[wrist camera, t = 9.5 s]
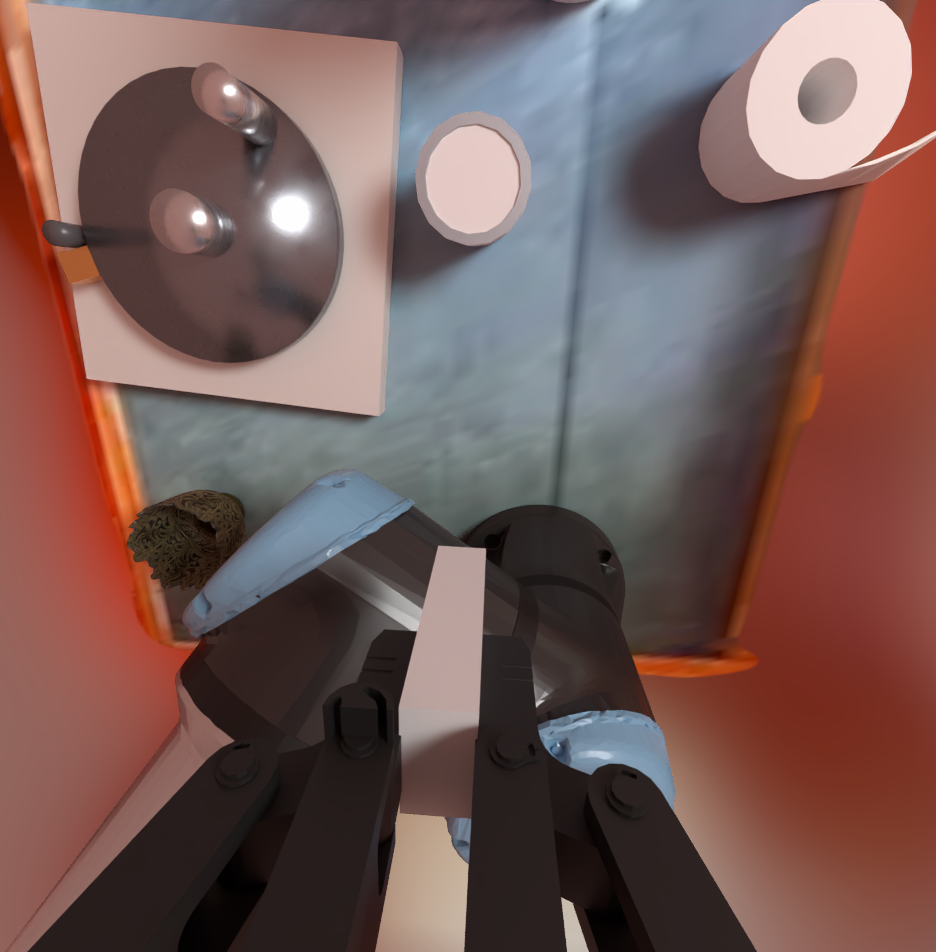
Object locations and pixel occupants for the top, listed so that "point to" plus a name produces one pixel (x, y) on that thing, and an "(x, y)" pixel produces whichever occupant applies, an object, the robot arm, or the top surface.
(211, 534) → the cup
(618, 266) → the top surface
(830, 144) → the toilet paper
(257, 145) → the flange plate
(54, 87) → the base plate
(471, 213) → the pale pink cylinder
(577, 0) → the fruit juice
